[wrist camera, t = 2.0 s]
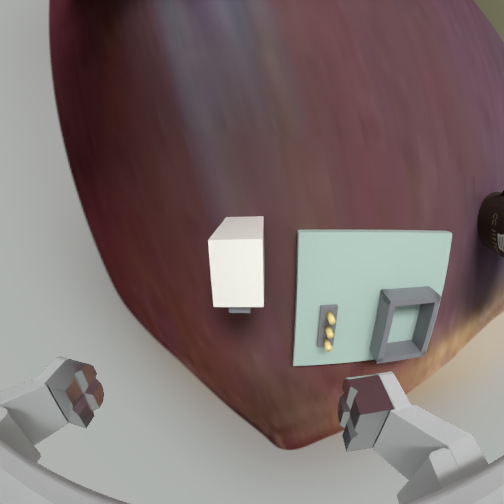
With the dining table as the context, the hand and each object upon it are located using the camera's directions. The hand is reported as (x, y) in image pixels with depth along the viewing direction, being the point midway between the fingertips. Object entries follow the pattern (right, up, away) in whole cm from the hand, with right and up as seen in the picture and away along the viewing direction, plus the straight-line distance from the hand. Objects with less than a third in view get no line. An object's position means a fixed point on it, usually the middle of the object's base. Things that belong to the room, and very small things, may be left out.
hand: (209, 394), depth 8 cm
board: (+13, 0, +18) cm, 22 cm away
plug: (+1, +5, +17) cm, 18 cm away
